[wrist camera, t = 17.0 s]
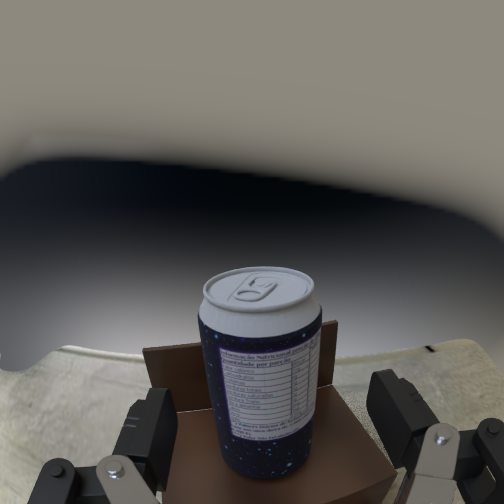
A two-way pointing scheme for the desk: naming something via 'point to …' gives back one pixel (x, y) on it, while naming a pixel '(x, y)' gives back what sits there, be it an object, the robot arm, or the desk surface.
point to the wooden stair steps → (277, 489)
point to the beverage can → (262, 366)
